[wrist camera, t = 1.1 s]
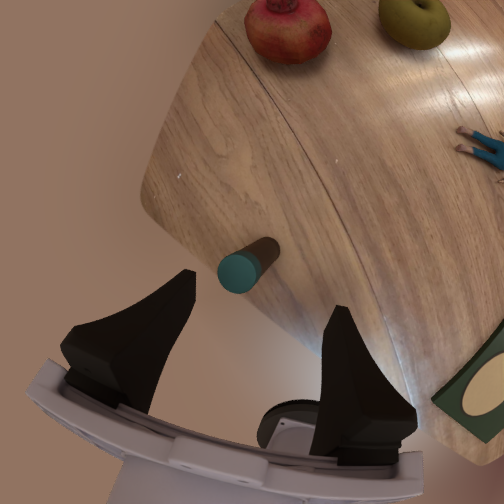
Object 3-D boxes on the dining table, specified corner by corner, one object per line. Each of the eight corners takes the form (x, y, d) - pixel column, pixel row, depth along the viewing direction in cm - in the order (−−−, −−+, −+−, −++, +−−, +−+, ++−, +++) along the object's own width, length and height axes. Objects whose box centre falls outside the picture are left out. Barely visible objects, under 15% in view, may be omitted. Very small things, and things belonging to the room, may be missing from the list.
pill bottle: (276, 266, 28) (250, 299, 19) (251, 258, 29) (213, 287, 19) (283, 240, 27) (260, 260, 18) (257, 233, 28) (221, 249, 18)
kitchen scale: (543, 379, 20) (546, 382, 19) (484, 440, 24) (486, 444, 23) (506, 315, 22) (510, 318, 21) (430, 398, 26) (432, 403, 25)
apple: (388, 62, 21) (401, 27, 14) (364, 9, 20) (368, -28, 13) (446, 63, 19) (469, 34, 12) (420, 11, 18) (433, -22, 11)
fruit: (280, 13, 23) (260, -42, 13) (344, 39, 22) (346, -19, 12) (243, 61, 25) (208, 12, 15) (308, 90, 24) (298, 39, 15)
